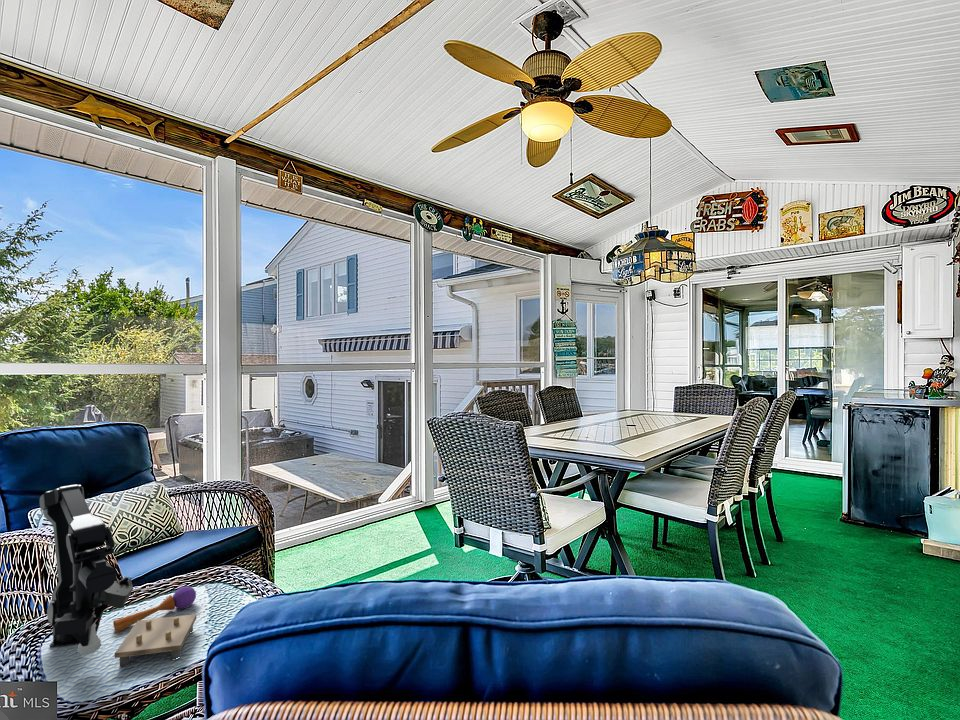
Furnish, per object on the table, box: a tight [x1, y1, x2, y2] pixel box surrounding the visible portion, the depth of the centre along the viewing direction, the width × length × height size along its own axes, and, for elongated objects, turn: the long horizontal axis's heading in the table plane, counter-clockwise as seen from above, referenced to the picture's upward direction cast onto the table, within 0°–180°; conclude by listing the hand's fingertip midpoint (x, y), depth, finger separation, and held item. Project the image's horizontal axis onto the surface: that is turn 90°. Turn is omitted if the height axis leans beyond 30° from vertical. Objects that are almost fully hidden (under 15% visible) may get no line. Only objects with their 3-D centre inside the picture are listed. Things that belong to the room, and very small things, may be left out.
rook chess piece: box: [77, 614, 102, 656], centre depth 120 cm, size 4×4×8 cm
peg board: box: [114, 613, 197, 668], centre depth 128 cm, size 14×14×6 cm
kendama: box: [112, 585, 197, 634], centre depth 142 cm, size 6×6×20 cm
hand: (89, 641), depth 120 cm, fingers closed on rook chess piece, 3 cm apart
